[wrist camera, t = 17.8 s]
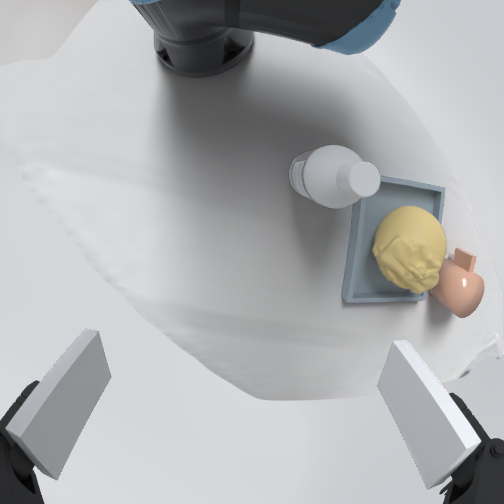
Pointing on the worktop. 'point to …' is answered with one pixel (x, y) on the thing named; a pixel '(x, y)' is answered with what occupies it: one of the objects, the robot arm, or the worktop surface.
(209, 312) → the worktop surface
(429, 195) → the tray
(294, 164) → the bath foam
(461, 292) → the peach tabbed round part
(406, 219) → the sculpture
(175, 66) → the robot arm
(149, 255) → the worktop surface
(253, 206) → the worktop surface
